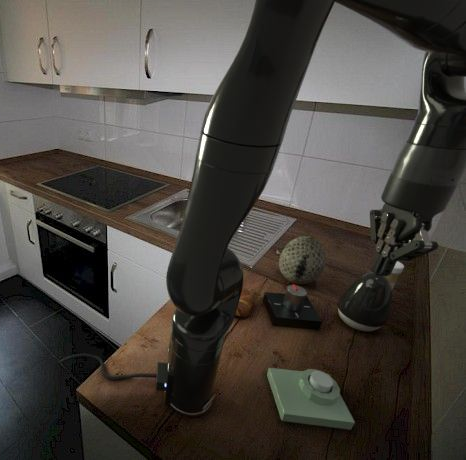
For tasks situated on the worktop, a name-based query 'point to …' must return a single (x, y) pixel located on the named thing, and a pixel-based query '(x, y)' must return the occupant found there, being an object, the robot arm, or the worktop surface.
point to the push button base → (308, 400)
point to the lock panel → (291, 313)
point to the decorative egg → (302, 260)
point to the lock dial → (294, 298)
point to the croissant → (245, 304)
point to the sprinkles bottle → (395, 273)
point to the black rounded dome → (366, 302)
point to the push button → (320, 381)
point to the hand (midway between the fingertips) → (379, 273)
